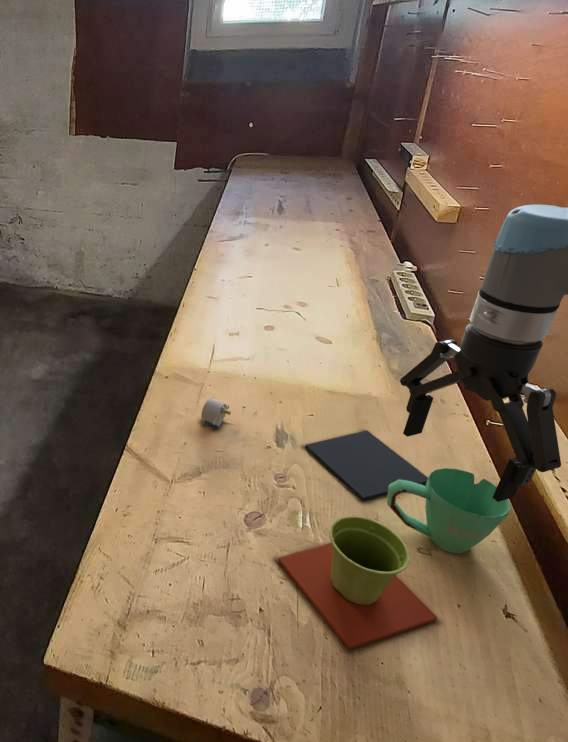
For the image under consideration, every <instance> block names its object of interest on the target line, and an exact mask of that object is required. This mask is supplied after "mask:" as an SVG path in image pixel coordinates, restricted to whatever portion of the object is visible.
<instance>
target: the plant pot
mask: <svg viewBox="0 0 568 742" xmlns="http://www.w3.org/2000/svg"><path fill="white" fill-rule="evenodd" d="M329 540H330V543H332V547H333V554H332V568H331V581H332V584H333V586H334V588H335V589H337V590H338V591H339V592H340V593H341V594H342V595H343V597H344V598H346V599H348V600H349V601H351V602H354V603H357V604H361V605H369V604H372V603H374V602H376V601H377V600H378V599H379V598H380V596H381V595H382V593H383V592H384V590H385V589H386V587H387V586H388V584H389V583H390V581H391V580H392V579H393V577H394V576H395V575H396V576H397V575H398V574H400V573H403V572H404V571H405V570H407V568H408V567H409V565H410V562H411V554H410V551H409V550H410V549H409V548H408V546H407V545H406V543H405V541H404V540H403V539H402V538H401V537H400V536H399V535H398V534H397V533H396V532H395V531H394V530H392V528H390V527H388V526H386V525H385V524H383V523H381V522H379V521H377V520H374V519H372V518H368V517H364V516H359V515H348V516H347V515H345V516H341V517H339V518H337V519H335V520H334V521H333V522H332V524H331V525H330V526H329Z"/></svg>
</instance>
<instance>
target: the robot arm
mask: <svg viewBox="0 0 568 742" xmlns="http://www.w3.org/2000/svg"><path fill="white" fill-rule="evenodd" d="M567 295H568V207H564V206H563V207H561V206H557V205H551V204H524V205H521V206H518V207H515V208H513V209H512V210H510V211H509V212H508V213H507V215H506V216H505V219H504V221H503V223H502V225H501V227H500V230H499V232H498V235H497V237H496V239H495V240H494V241H493V249H492V251H491V254H490V258H489V262H488V264H487V267H486V270H485V273H484V277H483V280H482V283H481V286H480V289H479V290H478V293H477V296H476V298H475V301H474V305H473V307H472V310H471V313H470V316H469V323H468V324H467V325H466V327H465V328H464V332H463V335H462V338H461V341H460V343H459V346H458V343H457V341H456V340H455V339H453V338H452V339H451V338H450V339H446V340H441V341H437V342H436V343H434V346H433V348H432V349H431V352H430V353H429V354H428V355H427V356H426V357H425V358H424V359H423V360H421V361H420V362H419V363H417V364H416V365H415V366H414V367H413V368H412V369H411V370H410V371H408V372H407V373H406V374H405V375H404V376H402V377H401V378H400V380H399V383H400V385H402V386H403V387H406V388H407V389H408V390H409V391H408V392H409V398H408V400H407V404H406V407H405V409H406V412H407V413H409V414H408V417H407V420H406V422H405V426H404V429H403V431H402V434H403V435H404V436H405V437H407V438H408V437H413V436H416V435H420V434H422V433H423V430H424V427H425V424H426V422H427V419H428V415H429V412H430V408H431V407H432V403H433V400H434V397H433V396H432V395H430V394H431V393H433V392H435V391H438V390H441V389H444V388H448V387H450V386H453V385H455V384H458V383H462V385H463V386H464V387H463V388H464V389H465V390H467V391H469V392H471V393H474V394H476V395H477V396H479V397H480V398H481V399H482V400H484V401H487V402H490V404H491V406H492V409H493V410H494V411H495V412H497V413H498V415H499V418H500V420H501V423H502V426H503V428H504V430H505V432H506V436H507V439H508V441H509V444H510V446H511V448H512V451H513V453H514V457H511V458H509V459H508V461H507V463H506V466H505V467H504V470H503V472H502V474H501V476H500V478H499V481H498V484H497V486H496V487H497V488H496V490H495V493H494V495H493V497H492V498H493V499H495V500H496V501H497V502H500V501H503V500H506V499H508V500H510V499H512V498H515V496H516V493H517V491H518V490H519V487H521V486H525V485H527V484H529V483H531V481H532V479H533V477H534V476H535V475H534V474H535V473H536V470H537V471H538V472H539V473H546V472H549V471H552V470H557V469H559V468H561V467H562V461H561V454H560V449H559V448H560V447H559V440H558V435H557V428H556V427H557V426H556V422H555V416H554V415H555V414H554V409H553V407H554V404H555V400H556V397H557V393H556V390H555V389H554V388H552V387H545V388H541V387H539V386H536V385H534V384H532V383H529V373H530V372H531V370H532V369H534V366H535V364H536V362H537V360H538V357H539V355H540V352H541V350H542V347H543V345H544V344H543V340H545V339H546V338H547V337H548V334H549V332H550V328H551V327H552V323H553V321H554V318H555V317H556V314H557V311H558V309H559V308H560V305H561V302H562V300H563V299H564V297H565V296H567ZM452 358H453V359H454V363H455V366H456V370H455V371H452V372H451V373H447V374H445V375H443V376H440V377H438V378H435V379H433V380H430V381H427V382H425V383H424V382H422V381H423V380H424V379H426V378H427V377H429V376H430V375H431V374H432V373H433V372H434V371H436V370H437V369H438V368H439V367H440V366H442V365H444V363H446V362H447V361H448V360H449V359H452ZM521 393H522V394H523V395H524V398H523V397H522V395H521ZM505 399H508V402H505V401H504V400H505ZM525 404H526V413H525V410H524V406H525Z"/></svg>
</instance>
